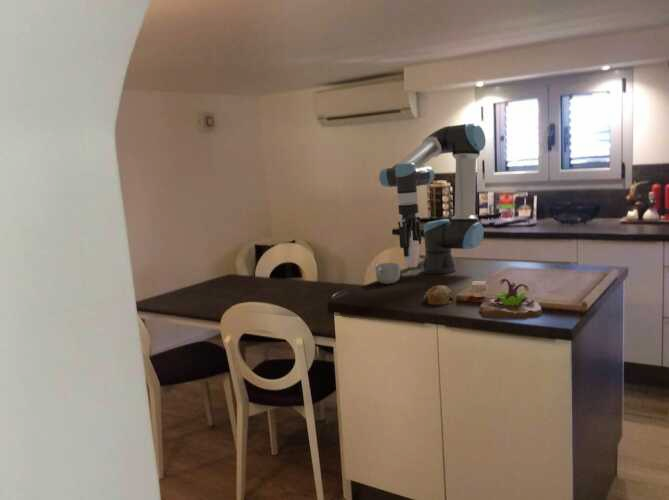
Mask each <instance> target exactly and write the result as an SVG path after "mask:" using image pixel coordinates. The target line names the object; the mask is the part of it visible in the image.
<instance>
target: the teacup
mask: <svg viewBox="0 0 669 500" xmlns="http://www.w3.org/2000/svg"><path fill="white" fill-rule="evenodd" d="M374 267H375V278H376V280H377V281H378V282H380V283H381V284H385V285H388V284H389V285H390V284H391V283H392V284H395V283H397V281H399V280H400V279H401V278H400V277H401V264H400V263H396V262H379V263H376V264H375V265H374Z"/></svg>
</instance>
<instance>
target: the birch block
mask: <svg viewBox="0 0 669 500" xmlns="http://www.w3.org/2000/svg"><path fill="white" fill-rule="evenodd" d="M470 287H471V292H472V291H486V289H487V290H488V285H487V281H483V280H482V281H479V280H478V281H477V280H476V281H472V283H471V285H470Z"/></svg>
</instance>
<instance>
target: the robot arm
mask: <svg viewBox="0 0 669 500" xmlns="http://www.w3.org/2000/svg"><path fill="white" fill-rule="evenodd" d="M485 146H486V135H485V132H484V130H483V128H482V127H481V125H480V124H477V123H463V124H456V125H448V126H447V125H446V126H444V127H442V128H439V129H437V130H436V131H433V132H432V133H430V134H429V135H427V137H425V138H424V139H423V141H422V142H421V144H420V145H419V146H418V147H416V148H415V149H413V150H412V151H411V152H409V154H407V155H406V156H405V157H403V158H402V159H401V160H400V161H398V162H397V163H395V164H394V165H393V166H392V167H390V168H389V167H387V168H383V169H381V170H380V172H379V175H378V178H379V179H378V180H379V183H380V184H381V185H382V186H383V187H385V188H393V187H396V192H397V193H396V194H397V196H396V198H397V203H398V206H397V208H398V215H401V221H398V222H397V224H398V228H399V230H398V232H399V247H400V248H401V249H403V259H404V266H405V265H407V266H408V265H412V260H411V248H409V244H410V241H411V231H412V236H413V240H416V241H419V244H418V262H420V260H421V259H420V257H421V256H420V247H419V245H421V244H422V234H421V233H422V232H421V226H420V225H421V224H420V216H416V214H418V213H419V203H418V201H419V199H418V188H417V187H420V186H427V185H429V184H432V182H433V181H435V180H434V179H435V171H434V168H432V167H431V166H429V165H425V164H427V163H429V161H431V160H432V159H433V158H437V157H438V156H440V155H444V154H450V153H451V154H452V157H453V158H454V160H455V179H454V181H455V185H454V186H455V187H454V189H455V190H454V193H455V194H454V215H453V216H452V217H451V220H450V218H444V219H438V220H433V221H427V222H426V223H424V225H423V235H424V239H423V240H424V253H425V254H424V255H425V256H424V260H423V264H422V273H424V274H430V275H431V274H432V275H442V274H443V275H444V274H450V273H454V272H456V271H457V264H456V261H455V259H454V257H453V254H452V250H453V249H454V250H466V251H468V250H475V249H478V248H479V247H480V245H481V244H482V242H483V239H484V233H485V232H484V231H485V230H484V226H483V224H482V223H481V222H479V217H478V216H477V215H476V184H477V183H476V177H477V175H476V174H477V173H476V172H477V170H476V169H477V159H478V158H479V157H480V156H481V155H480V152H481V151H483V150H484V148H485Z"/></svg>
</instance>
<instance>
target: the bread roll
mask: <svg viewBox="0 0 669 500" xmlns="http://www.w3.org/2000/svg"><path fill="white" fill-rule="evenodd" d="M454 299H455V294H454V292H453V291H452V290H451V288H450V287H447V286H446V285H442V284H441V285H440V284H439V285H434V286H432V287H430V288H429V289H428V290H427V291H426V292H425V294H424V296H423V300H424V301H425V302H426V303H427V304H428V305H433V306H443V305H450V304H451V303H453V302H454Z"/></svg>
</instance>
